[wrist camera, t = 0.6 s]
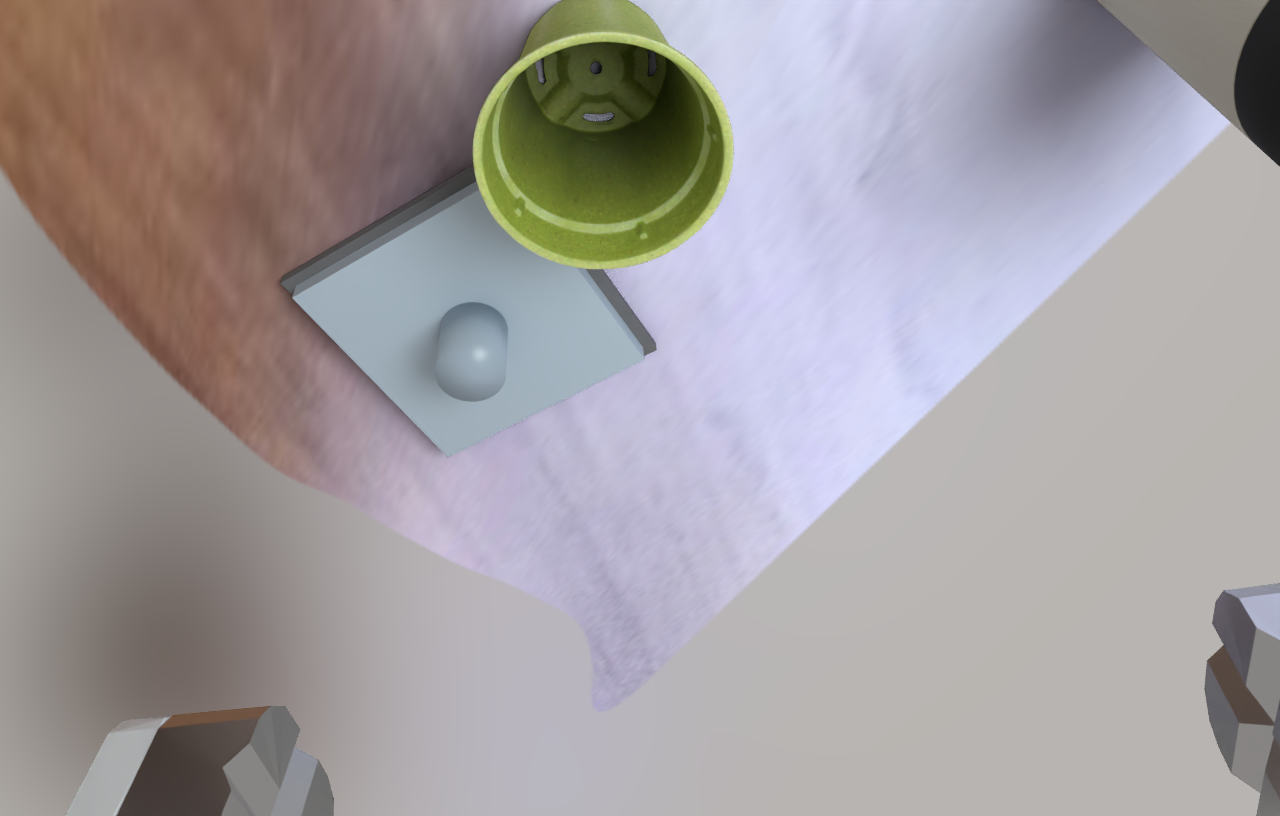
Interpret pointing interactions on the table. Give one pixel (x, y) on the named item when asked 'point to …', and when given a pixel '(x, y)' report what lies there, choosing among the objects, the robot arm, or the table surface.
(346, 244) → the mat
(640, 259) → the plant pot
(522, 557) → the table surface
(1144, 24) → the travel mug
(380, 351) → the lid
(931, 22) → the table surface
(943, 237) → the table surface
